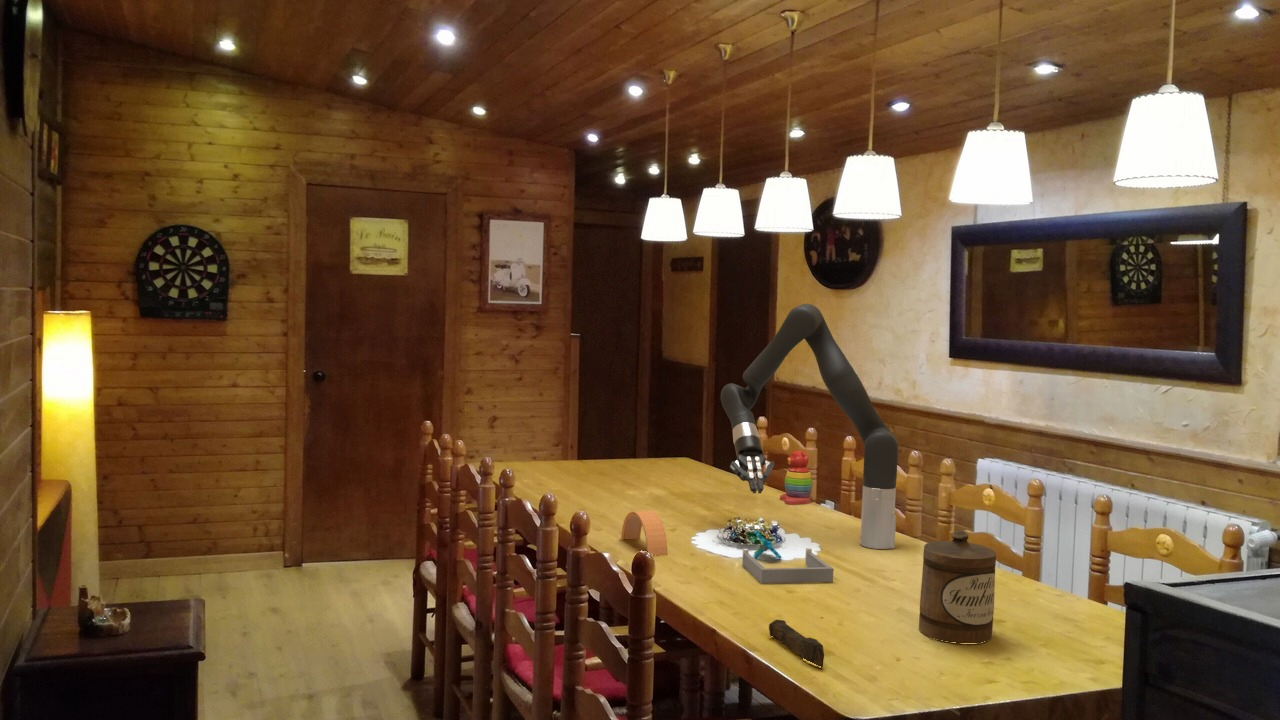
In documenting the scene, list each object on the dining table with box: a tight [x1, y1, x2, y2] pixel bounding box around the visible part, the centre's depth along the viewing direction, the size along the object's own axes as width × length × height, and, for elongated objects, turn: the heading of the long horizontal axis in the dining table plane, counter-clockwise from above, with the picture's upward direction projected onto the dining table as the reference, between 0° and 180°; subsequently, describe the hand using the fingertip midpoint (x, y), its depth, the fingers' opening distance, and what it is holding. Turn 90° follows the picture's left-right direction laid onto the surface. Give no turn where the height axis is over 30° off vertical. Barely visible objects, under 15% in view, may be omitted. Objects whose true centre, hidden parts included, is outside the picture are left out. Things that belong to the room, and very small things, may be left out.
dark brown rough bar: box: [768, 619, 825, 667], centre depth 196 cm, size 19×4×5 cm, turn 17°
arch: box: [620, 510, 668, 557], centre depth 275 cm, size 6×20×10 cm, turn 22°
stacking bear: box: [779, 449, 813, 506], centre depth 346 cm, size 11×10×18 cm
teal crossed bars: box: [753, 530, 783, 560], centre depth 268 cm, size 11×6×10 cm
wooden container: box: [918, 529, 997, 643], centre depth 210 cm, size 15×15×22 cm
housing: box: [741, 547, 834, 585], centre depth 253 cm, size 17×18×4 cm
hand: (757, 491), depth 278 cm, fingers closed
